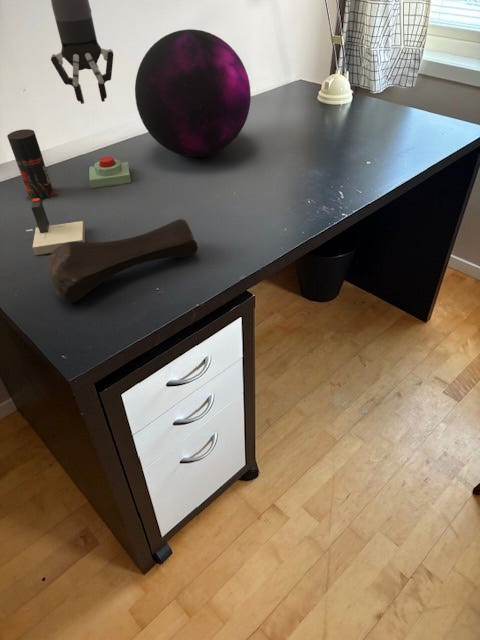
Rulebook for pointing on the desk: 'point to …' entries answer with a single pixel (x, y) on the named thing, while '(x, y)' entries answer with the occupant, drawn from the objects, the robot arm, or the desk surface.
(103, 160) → the red push button
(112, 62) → the robot arm
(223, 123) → the mottled black-purple ball
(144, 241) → the dark brown bone
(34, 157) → the deodorant
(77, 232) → the cream flat slab
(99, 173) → the box
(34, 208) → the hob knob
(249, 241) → the desk surface
